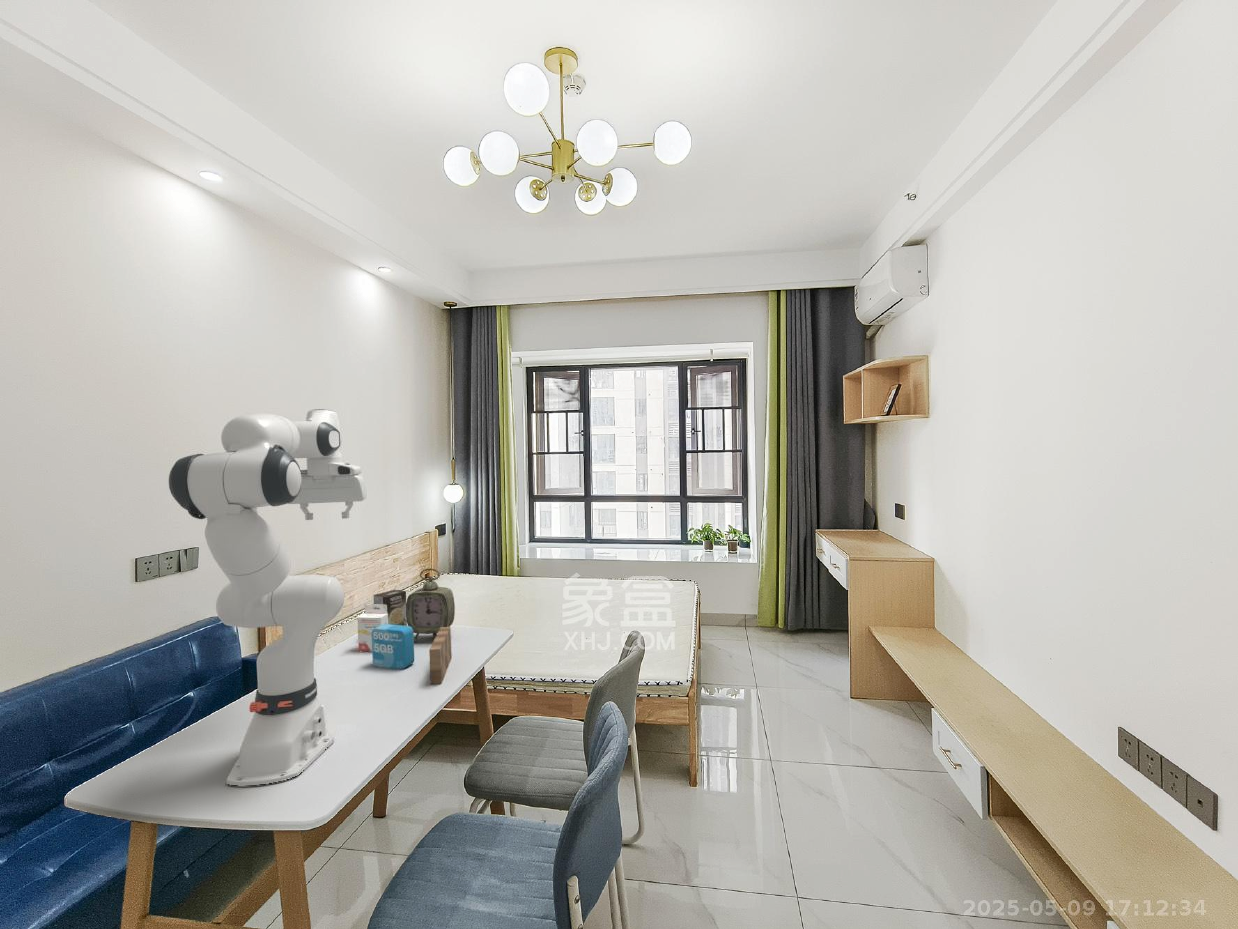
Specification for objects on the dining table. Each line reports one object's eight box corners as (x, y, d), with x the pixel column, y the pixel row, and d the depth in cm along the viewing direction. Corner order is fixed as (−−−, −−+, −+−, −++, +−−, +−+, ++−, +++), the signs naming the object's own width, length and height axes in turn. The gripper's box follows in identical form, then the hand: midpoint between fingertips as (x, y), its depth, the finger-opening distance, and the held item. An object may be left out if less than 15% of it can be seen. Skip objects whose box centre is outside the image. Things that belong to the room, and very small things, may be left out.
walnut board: (441, 683, 164) (440, 649, 163) (430, 684, 163) (429, 649, 163) (451, 657, 184) (450, 626, 183) (441, 658, 183) (440, 627, 183)
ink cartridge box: (357, 652, 191) (355, 608, 190) (365, 646, 196) (363, 603, 195) (382, 652, 190) (380, 608, 190) (390, 647, 195) (388, 603, 194)
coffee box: (386, 643, 199) (384, 597, 198) (374, 640, 202) (372, 595, 201) (408, 635, 207) (406, 590, 206) (396, 632, 210) (394, 588, 209)
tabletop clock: (407, 644, 197) (404, 571, 196) (417, 635, 206) (414, 565, 205) (449, 643, 197) (446, 570, 196) (457, 634, 206) (454, 565, 205)
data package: (372, 666, 178) (370, 628, 178) (382, 661, 182) (380, 623, 182) (405, 669, 175) (404, 630, 174) (415, 664, 179) (413, 626, 179)
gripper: (279, 470, 155) (282, 522, 155) (360, 468, 158) (362, 518, 158) (289, 469, 161) (292, 519, 161) (366, 467, 164) (369, 515, 164)
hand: (327, 519), depth 160 cm, fingers open, 8 cm apart
